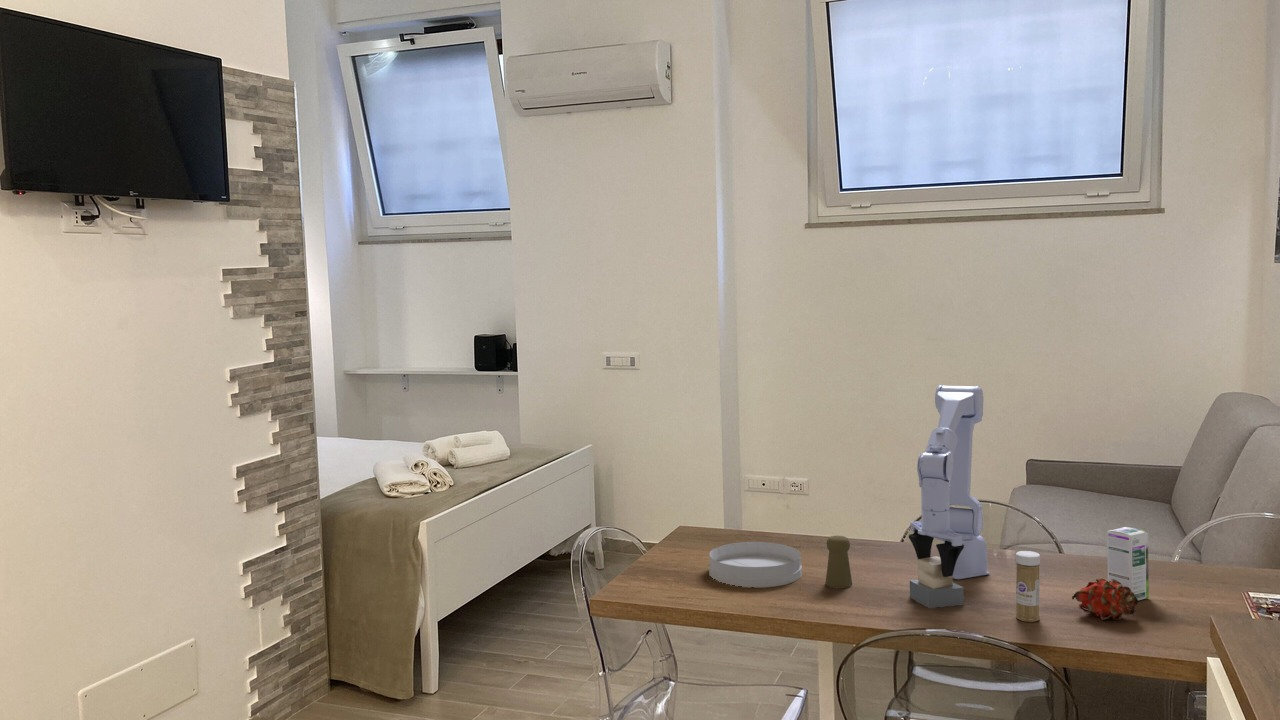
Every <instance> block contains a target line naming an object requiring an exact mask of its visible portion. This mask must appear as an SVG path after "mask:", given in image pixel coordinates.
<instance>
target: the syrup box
mask: <svg viewBox="0 0 1280 720" xmlns="http://www.w3.org/2000/svg"><path fill="white" fill-rule="evenodd" d="M1106 545H1107V546H1106V549H1107V551H1106V553H1107V555H1106V558H1107V559H1106V561H1107V564H1106V565H1107V581H1108V582H1109V581H1113V580H1111V579H1115V580H1117V581H1118V582H1120V583H1121V584H1122V585H1123V586H1127V587H1129V588H1130V590H1131V592H1133V593H1134V594H1135V595H1136V598H1137V599H1138V601H1141V600H1145V599H1149V597H1150V591H1149V586H1150V585H1149V584H1150V582H1149V581H1150V580H1149V532H1148V531H1146V530H1144V529H1140V528H1135V527H1129V526H1123V527H1120V528H1116V529H1109V530H1107V532H1106Z"/></svg>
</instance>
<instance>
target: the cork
mask: <svg viewBox="0 0 1280 720" xmlns="http://www.w3.org/2000/svg"><path fill="white" fill-rule="evenodd" d="M850 547H851V542H850V540H849V538H848V537H847V536H843V535H832V536H829V537H828V538H827V540H826V548H827V550H828V559H827V569H826V576H825V583H826V584H825V585H826V586H827V585H828V586H827V587H830V588H836V589H845V588H846V587H847V588H850V587H852V586H853V580H852V573H851V566H850V560H849V553H848V551H849V550H850Z"/></svg>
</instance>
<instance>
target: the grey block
mask: <svg viewBox="0 0 1280 720" xmlns="http://www.w3.org/2000/svg"><path fill="white" fill-rule="evenodd" d="M909 598H911V599H912V598H913V599H912V600H914V601H916V602H917V603H919V604H921V605H922V604H923V605H922V606H924V605H925V606H924V607H926V608H927V607H928V608H927V609H929V608H932V609H936V608H935V607H940V608H945V607H944V606H948V607H955V605H957V606H964V586H961V585H959V584H957V582H956V583H955V582H954V581H953V585H950V586H945V587H939V588H934V589H933V588H931V587H929V586H926V585H924V584H922V583H920V582H918V579H910V580H909Z"/></svg>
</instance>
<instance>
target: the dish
mask: <svg viewBox="0 0 1280 720" xmlns="http://www.w3.org/2000/svg"><path fill="white" fill-rule="evenodd" d="M801 557H802V554H801V552H800V551H799V550H798V549H796V548H795V547H792V546H790V545H786V544H781V543H776V542H766V541H743V542H733V543H728V544H723V545H719V546H717V547H715V548H713V549H711V550H710V552H709V563H708V573H709V577H710V576H711V577H712V578H713V579H712V578H711V577H710V578H711V579H712V580H714V579H716V580H718V581H719V582H718V581H717V582H718V583H720V582H722V583H721V584H723V583H726V584H725V585H727V584H730V585H729V586H732V585H735V586H734V587H738V586H742V587H741V588H751V587H754V588H759V589H760V588H772V587H780V586H784V585H789V584H791V583H794V582H796V581H797V580H799V579H801V576H803V566H802V558H801ZM716 580H715V581H716ZM754 588H753V589H754Z"/></svg>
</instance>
